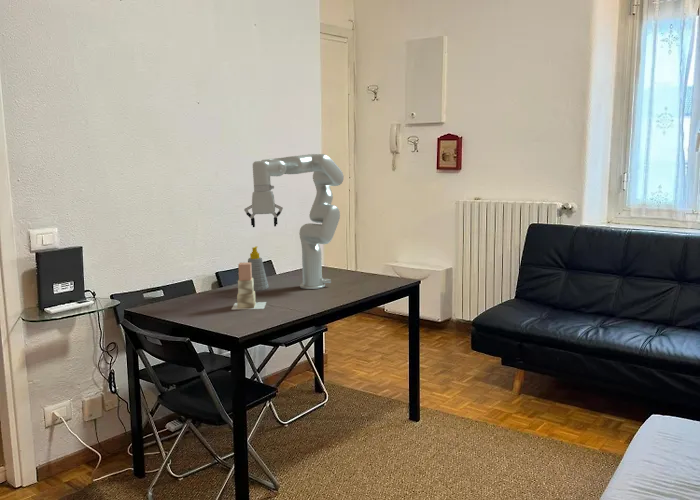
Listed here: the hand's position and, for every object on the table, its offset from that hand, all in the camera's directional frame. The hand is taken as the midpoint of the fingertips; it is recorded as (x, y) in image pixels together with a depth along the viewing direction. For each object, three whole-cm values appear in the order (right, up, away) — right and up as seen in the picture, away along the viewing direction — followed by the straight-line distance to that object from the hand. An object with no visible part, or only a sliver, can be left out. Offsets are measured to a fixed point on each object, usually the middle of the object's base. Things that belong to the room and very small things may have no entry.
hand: (264, 226), depth 291 cm
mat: (-5, -35, -10) cm, 37 cm away
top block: (-7, -23, -13) cm, 27 cm away
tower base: (-6, -35, -11) cm, 37 cm away
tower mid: (-6, -29, -12) cm, 32 cm away
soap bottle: (-8, -30, +28) cm, 42 cm away
